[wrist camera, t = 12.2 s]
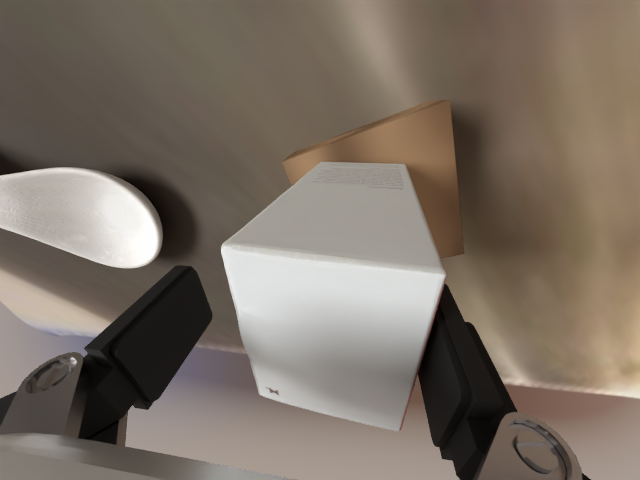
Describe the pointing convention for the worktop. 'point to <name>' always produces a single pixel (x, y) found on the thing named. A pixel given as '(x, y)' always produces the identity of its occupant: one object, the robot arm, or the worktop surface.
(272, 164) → the worktop surface
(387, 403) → the small box
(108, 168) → the worktop surface
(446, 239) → the tan block
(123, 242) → the spoon rest
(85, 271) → the worktop surface
